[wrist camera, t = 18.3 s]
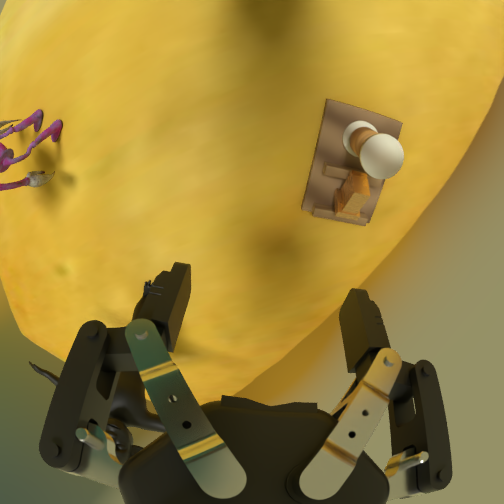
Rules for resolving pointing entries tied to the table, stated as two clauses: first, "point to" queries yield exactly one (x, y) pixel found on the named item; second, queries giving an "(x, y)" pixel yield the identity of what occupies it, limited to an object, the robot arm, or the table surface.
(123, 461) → the monkey
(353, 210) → the tan wooden block
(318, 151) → the board
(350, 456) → the robot arm
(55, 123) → the toy
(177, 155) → the table surface
